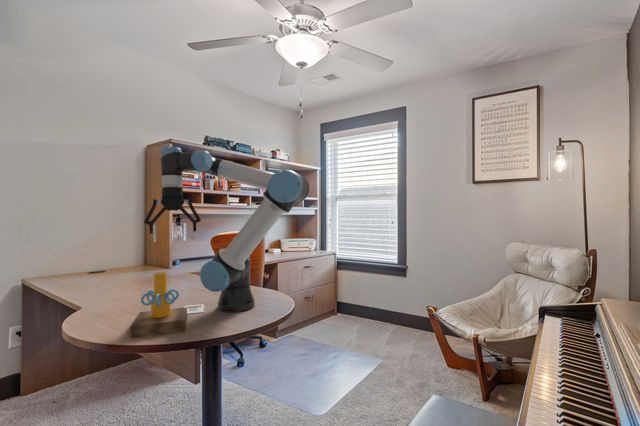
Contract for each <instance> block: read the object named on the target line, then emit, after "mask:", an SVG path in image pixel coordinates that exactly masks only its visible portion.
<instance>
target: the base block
mask: <svg viewBox="0 0 640 426" xmlns="http://www.w3.org/2000/svg"><path fill="white" fill-rule="evenodd" d="M187 320H188V314H187V307H186V308H184V307H178V308H170V315H169V316H167V317H163V318H152V317H151V310H147V311H139V312H138V314H137V315H136V317H135V319H134V320H133V322H132V323H131V324H130V339H137V338H147V337H151V336H152V337H153V336H154V337H155V336H162V335H170V334H179V333H185V332H186V327H187V326H186V325H187Z"/></svg>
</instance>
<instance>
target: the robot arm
mask: <svg viewBox="0 0 640 426" xmlns="http://www.w3.org/2000/svg"><path fill="white" fill-rule="evenodd" d="M160 167H161V176H160V177H161V178H160V179H161V186H162V188H161V199H156V198H155V199H153V201H152V206H151V208H150V209H149V211H148V213H147V215H146V217H145V219H144V221H143V223H144V224H146V225H148V226H149V234H152V241H153V243H156V242H157V240H156V239H157V238H156V225H155V222H157V221H158V219H159V218H160V217H161V216H162V215H163V214H164V212H165V211H169V212H170V211H176V212H177V211H179V210H180V211H181V212H182V213H183V214H184V215H185V217H186V218H187V219H189V221H190V222H191V223H190V240H191V241H194V232H197V224H198V223H200V222H201V221H202V220H201V219H202V218H200V216H199V214H198V212H197V210H196V209H195V207H194V206H193V203H192V199H191V198H188V199H184V197H183V196H184V194H183V193H184V192H183V191H184V190H183V189H184V188H183V185H184V184H183V172H198V173H203V174H207V175H211V176H213V177H218V178H222V179H225V180H229V181H233V182H236V183H240V184H244V185H247V186H250V187H254V188H257V189H260V190H265V191H264V192H263V195H262V196H263V197H262V198H263V200H262V201H261V203H260V204H259V205H258V207H257V208H256V209H255V210H254V211H253V213H252V214H251V216H250V217H249V218H248V219H247V221H246V222H245V223H244V225H243V226H242V227H241V228H240V230H239V231H238V233H236V235H235V237H233V239H232V240H231V241H230V243H229V244H228V245H227V247H226V248H221V249H219V250H218V251H217V253H215V255H214V257H213V258H212V260H208V261H207V262H206V263H204V264H203V265H202V266H201V269H200V271H199V277H200V282H201V284H202V286H203V287H204V288H205V289H206V290H208V291H209V292H214V293H218V292H220V295H219V298H218V302H217V310H219V311H220V312H224V313H225V312H226V313H230V312H231V313H235V312H236V313H238V312H244V311H245V312H246V311H248V310H251V309H253V308H254V307H255V306H256V305H255V304H256V303H255V302H256V301H255V297H254V295H253V292H252V289H251V259H250V258H251V257H250V256H251V254H252V253H253V252H254V251H255V249H256V248H257V247H258V245H259V244H260V243H261V242H262V241H263V239H264V238H265V237H266V235H267V234H268V233H269V232H270V230H271V228H273V226H274V225H275V224H276V223H277V222H278V220H279V218H280V217H281V216H282V215H283V214H289V213H290V211H291V210H292V209H293V207H294V206H295V205H296V204H298V203H301V202H303V201H305V199H307V197H309V196H308V195H309V193H310V184H309V182H308V180H307V178H306V177H304V176H303V175H302V174H299V172H296V171H294V170H291V169H280V170H278V171H276V172H275V173H274V172H271V171H267V170H262V169H260V168H259V169H258V168H255V167H252V166H248V165H245V164H241V163H237V162H233V161H230V160H225V159H222V158H218V157H215V156H212V155H211V154H210V152H209V151H207V150H193V151H182V148H180V147H177V146H165V147H164V146H163V147H162V148H161V150H160ZM160 204H161V205H162V206H163V207H162V208H161V209H160V210H159V212H158V213H157V214H156V215H155V216H154V217H153V218H152V220H150V219H151V217H152V215H153V214H154V212H155V210H156V208H157V206H159V205H160ZM184 204H186V205H187V206H188V207H189V209H190V210H191V212H192V214H193V216H194V218H195V219H194V218H193V216H192V215H190V213H189V212H188V211H187V210H186V209H185V208H184V207H183V206H184Z"/></svg>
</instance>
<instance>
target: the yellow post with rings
mask: <svg viewBox="0 0 640 426" xmlns="http://www.w3.org/2000/svg"><path fill="white" fill-rule="evenodd" d="M167 283H168V281H167V272H166V271H158V272H154V273H153V290H149V291H148V292H147V293H144V294H143V295H142V296H141V299H140V302H141V304H142V305H143V306H150V311H151V317H152V318H163V317H167V316H169V315H170V309H171V305H172V304H173V303H175V301H177V299H178V298H179V297H180V293H179V290H177V289H175V288H174V289H173V288H171V289H169V290H168V289H167V288H168V287H167ZM173 292H175V294H174V293H173ZM170 295H171V297H172V298H170V297H169V296H170ZM145 297H146V299H147V301H148V302H145V299H144V298H145ZM150 297H151V298H150Z"/></svg>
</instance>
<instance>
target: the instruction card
mask: <svg viewBox="0 0 640 426" xmlns="http://www.w3.org/2000/svg"><path fill="white" fill-rule="evenodd" d="M186 307H187V315H193V314H203V313H205V304H204V303H201V304H193V305H184V306H183V308H186Z"/></svg>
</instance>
